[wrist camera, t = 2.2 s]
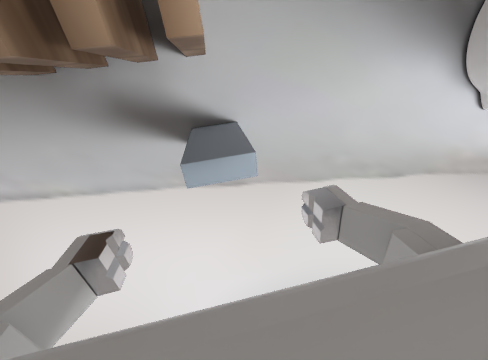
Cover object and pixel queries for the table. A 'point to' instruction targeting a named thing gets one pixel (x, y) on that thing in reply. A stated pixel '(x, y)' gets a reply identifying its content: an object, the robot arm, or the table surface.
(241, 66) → the table surface
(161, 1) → the domino
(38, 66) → the domino
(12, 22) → the domino
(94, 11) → the domino
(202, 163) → the end domino
